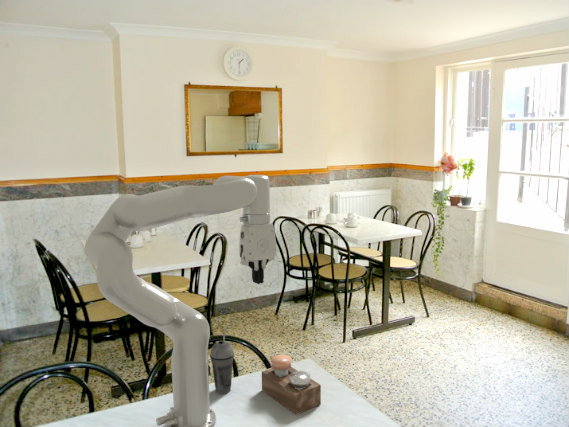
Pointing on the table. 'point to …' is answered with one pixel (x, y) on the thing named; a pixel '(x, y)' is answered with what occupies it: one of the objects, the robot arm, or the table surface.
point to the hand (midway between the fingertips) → (258, 282)
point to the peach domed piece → (281, 365)
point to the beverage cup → (222, 365)
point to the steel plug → (299, 379)
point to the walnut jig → (291, 391)
